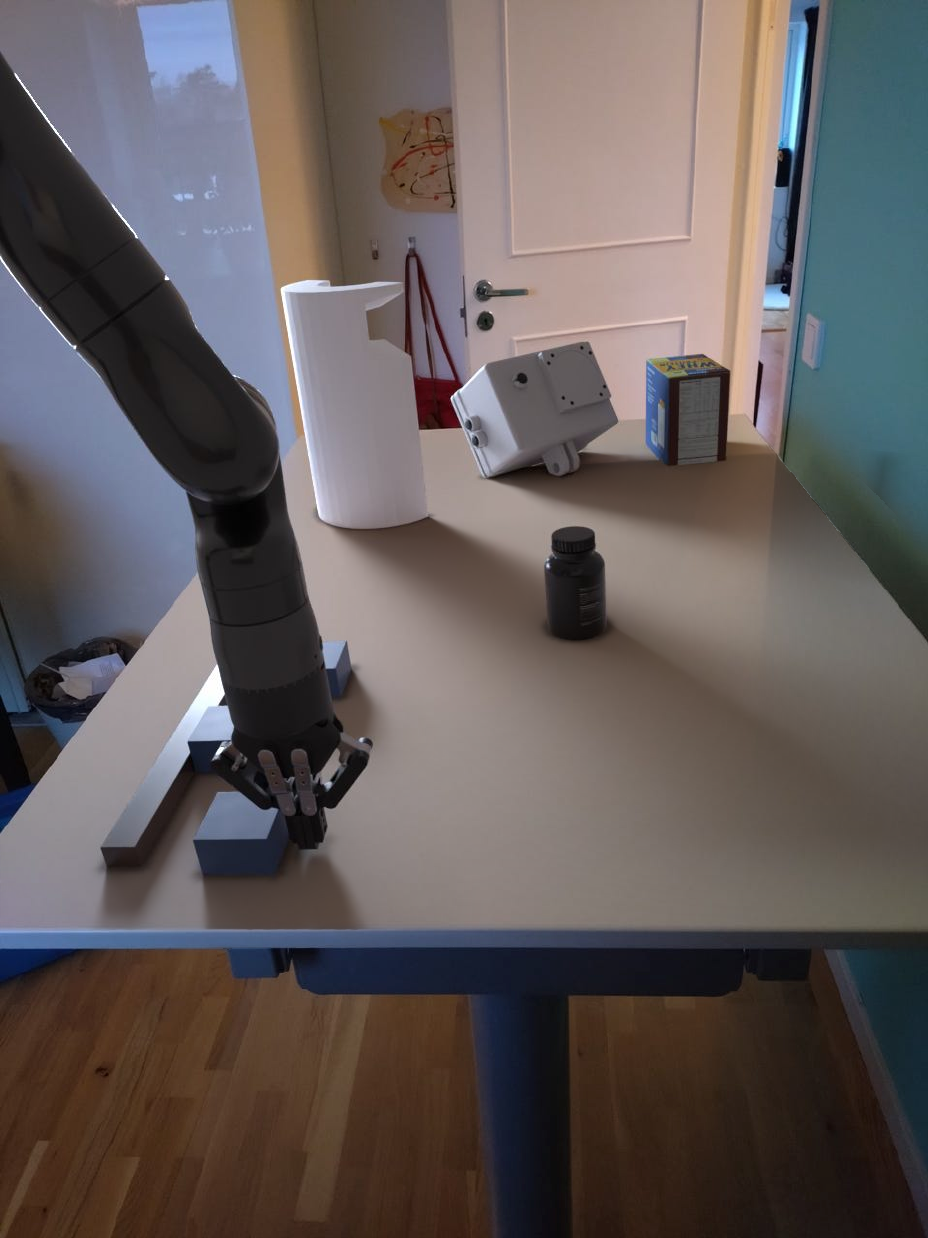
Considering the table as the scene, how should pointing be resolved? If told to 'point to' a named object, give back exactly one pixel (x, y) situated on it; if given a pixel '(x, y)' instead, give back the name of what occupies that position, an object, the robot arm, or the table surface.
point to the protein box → (687, 409)
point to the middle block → (209, 737)
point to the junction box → (535, 410)
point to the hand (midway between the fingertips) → (311, 842)
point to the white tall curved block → (355, 406)
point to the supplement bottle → (575, 585)
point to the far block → (337, 665)
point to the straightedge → (160, 787)
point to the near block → (240, 837)
